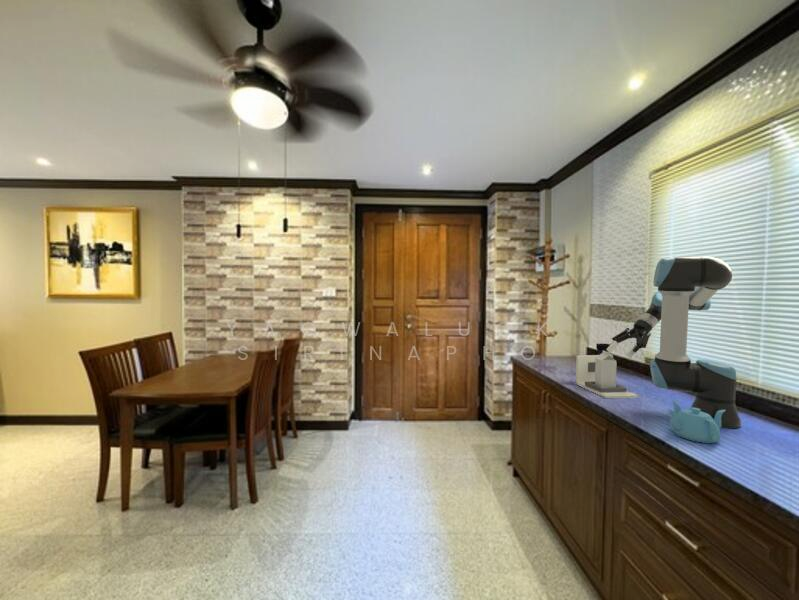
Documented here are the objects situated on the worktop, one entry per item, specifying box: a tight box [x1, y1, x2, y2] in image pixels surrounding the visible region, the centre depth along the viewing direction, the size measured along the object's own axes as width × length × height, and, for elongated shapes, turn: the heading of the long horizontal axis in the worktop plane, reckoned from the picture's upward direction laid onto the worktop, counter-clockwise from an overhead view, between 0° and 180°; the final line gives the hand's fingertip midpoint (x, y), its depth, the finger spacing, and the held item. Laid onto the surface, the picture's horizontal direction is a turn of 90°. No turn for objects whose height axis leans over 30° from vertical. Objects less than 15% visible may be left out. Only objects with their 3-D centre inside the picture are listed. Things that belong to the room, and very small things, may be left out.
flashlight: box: [595, 342, 612, 355], centre depth 203 cm, size 8×8×20 cm
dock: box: [575, 354, 639, 399], centre depth 177 cm, size 24×16×16 cm, turn 6°
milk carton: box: [595, 351, 617, 388], centre depth 177 cm, size 7×7×19 cm
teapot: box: [667, 400, 726, 444], centre depth 122 cm, size 15×15×10 cm
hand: (617, 353), depth 178 cm, fingers open, 13 cm apart
